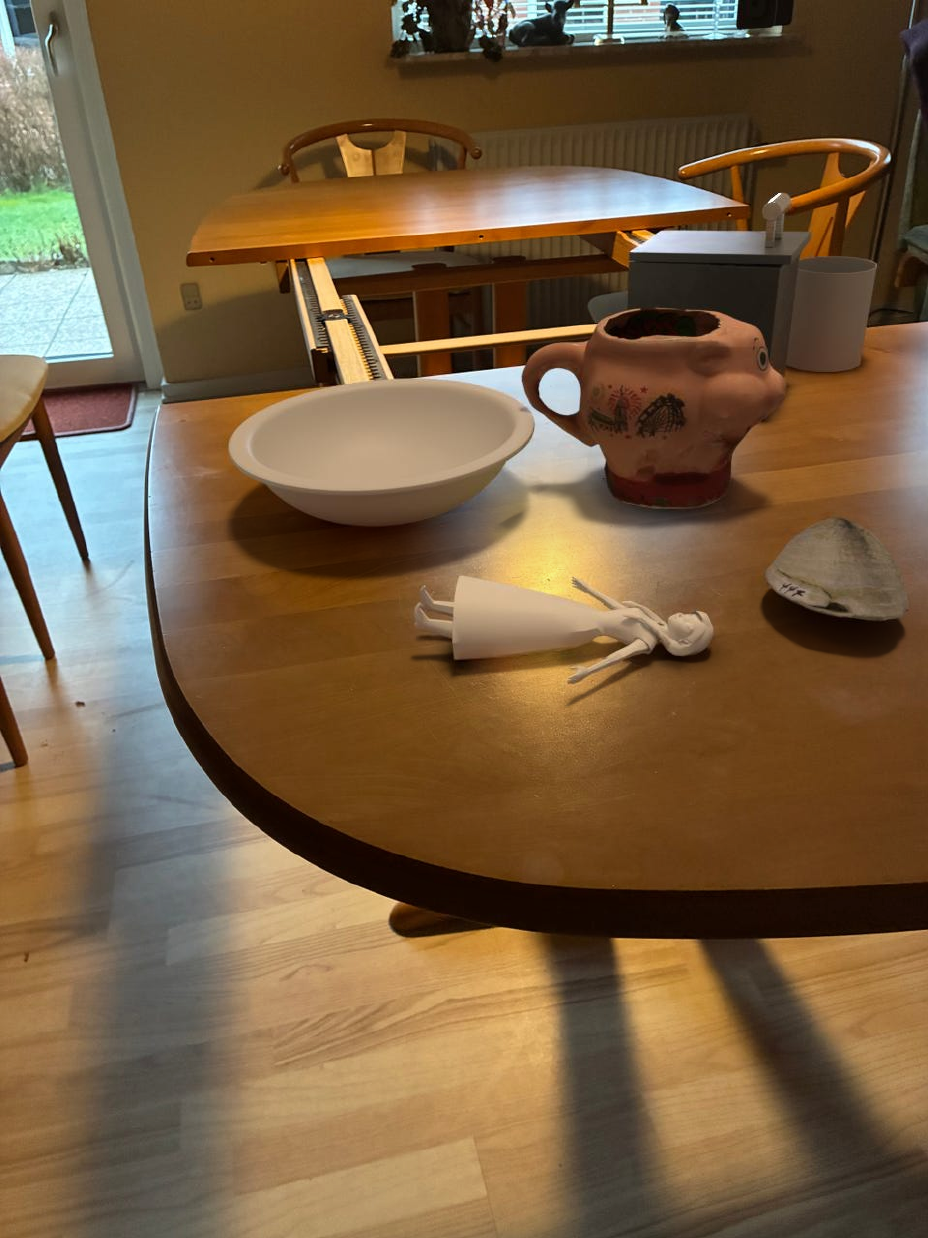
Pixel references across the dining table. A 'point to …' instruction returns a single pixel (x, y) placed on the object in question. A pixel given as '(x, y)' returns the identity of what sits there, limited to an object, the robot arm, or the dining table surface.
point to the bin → (723, 295)
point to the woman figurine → (553, 624)
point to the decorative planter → (664, 400)
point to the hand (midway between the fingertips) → (764, 26)
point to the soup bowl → (382, 448)
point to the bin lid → (729, 242)
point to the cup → (830, 313)
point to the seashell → (840, 573)
